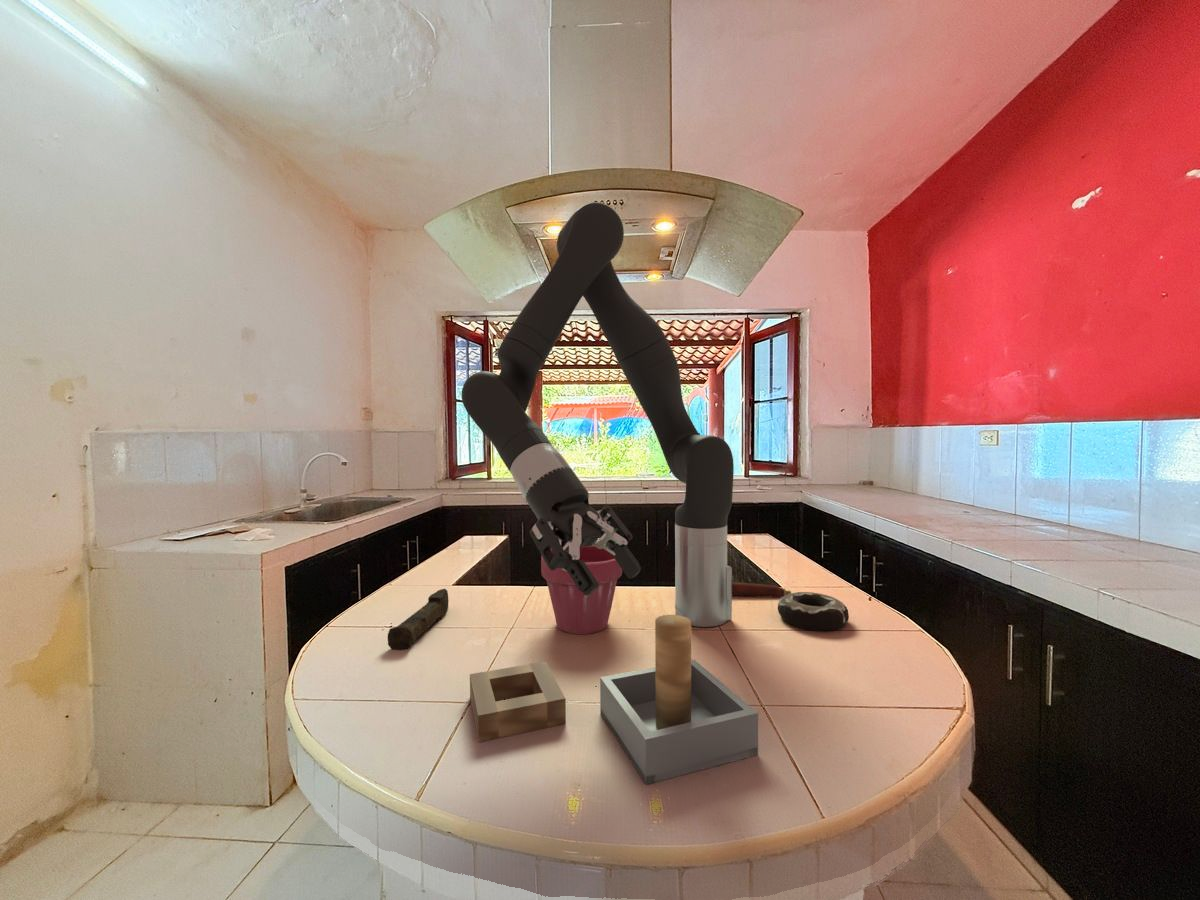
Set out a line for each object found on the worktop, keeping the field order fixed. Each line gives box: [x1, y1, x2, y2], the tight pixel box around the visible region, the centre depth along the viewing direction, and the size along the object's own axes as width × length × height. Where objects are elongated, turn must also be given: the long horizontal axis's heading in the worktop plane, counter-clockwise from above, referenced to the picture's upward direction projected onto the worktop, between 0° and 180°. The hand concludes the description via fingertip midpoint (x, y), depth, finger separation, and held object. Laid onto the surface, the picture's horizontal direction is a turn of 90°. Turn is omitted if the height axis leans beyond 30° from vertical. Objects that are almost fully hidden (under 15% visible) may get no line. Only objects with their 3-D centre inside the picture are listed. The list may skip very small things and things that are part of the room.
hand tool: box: [387, 588, 450, 651], centre depth 88 cm, size 19×4×5 cm, turn 172°
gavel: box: [732, 581, 792, 598], centre depth 103 cm, size 21×5×10 cm
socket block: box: [469, 661, 567, 743], centre depth 62 cm, size 10×10×3 cm
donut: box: [777, 591, 850, 632], centre depth 90 cm, size 12×12×4 cm
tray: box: [599, 659, 759, 786], centre depth 57 cm, size 13×13×4 cm
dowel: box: [654, 614, 692, 730], centre depth 57 cm, size 4×4×12 cm
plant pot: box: [540, 545, 623, 635], centre depth 88 cm, size 14×14×13 cm
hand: (615, 582), depth 62 cm, fingers open, 8 cm apart
